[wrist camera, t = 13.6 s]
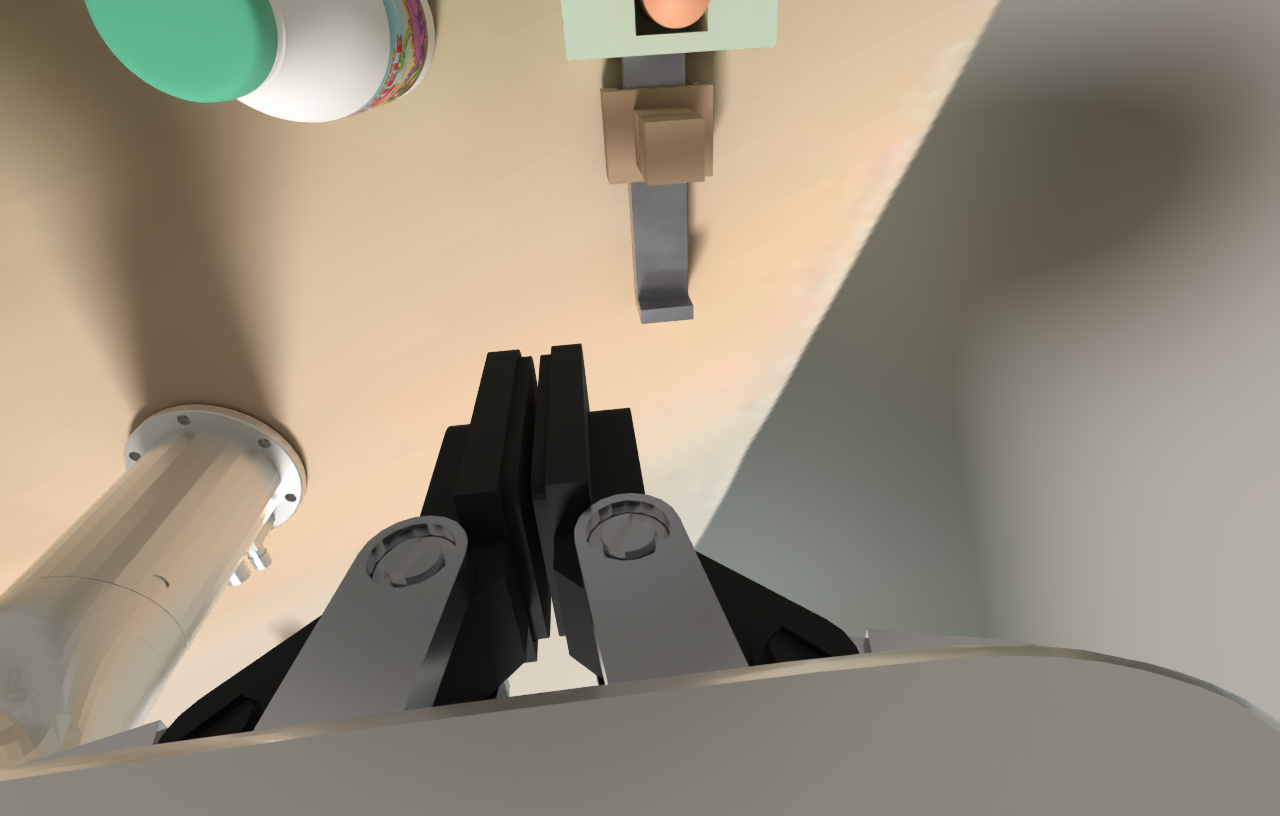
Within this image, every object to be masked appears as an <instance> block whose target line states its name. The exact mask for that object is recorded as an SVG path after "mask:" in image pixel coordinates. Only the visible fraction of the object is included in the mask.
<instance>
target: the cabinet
mask: <svg viewBox="0 0 1280 816" xmlns="http://www.w3.org/2000/svg"><path fill="white" fill-rule="evenodd" d="M561 8H562V17H563V27H564V36H565V46H566V56H567V61H570V60H584V59H599V58H614V57H629V56H643V55H658V54H673V53H687V52H702V51H717V50H732V49H746V48H761V47H776V32H777V15H778V0H710V2H709V5H708V7H707V9H706V10H705V12H704V13H703V15H702V16H701V17H700V18H699V19H698V20H697V21H696V22H694V23H693V24H691V25H689V26H686V27H683V28H667V27H664V26H662V25H660V24H658V23H654V22H650V21H648V20H646V19H645V18H644V17H643V16H642V15H641V14H640V13H639V11H638V9H637V7H636V4H635V0H561Z"/></svg>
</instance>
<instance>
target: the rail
mask: <svg viewBox="0 0 1280 816" xmlns="http://www.w3.org/2000/svg"><path fill="white" fill-rule="evenodd" d="M620 58H621V74H622V90H623V89H637V88H651V87H665V86H679V85H686V84H685V53H673V54H658V55H643V56H629V57H620ZM628 185H629V201H630V217H631V233H632V249H633V265H634V281H635V297H636V305H637V308H638V312H639V316H640V320H641V324H646V323H657V322H667V321H678V320H688V319H693V304H692V302H691V300H690V298H689V295H688V242H687V183H678V184H665V185H653V186H648V185H647V184H646V182H645V181H644V182H632V183H628Z"/></svg>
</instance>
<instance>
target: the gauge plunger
mask: <svg viewBox="0 0 1280 816" xmlns="http://www.w3.org/2000/svg"><path fill="white" fill-rule="evenodd" d="M709 2H710V0H635V4H636V7H637V9H638V11H639V13H640V14H641V15H642V16H643V17H644V18H645V19H646V20H648V21H650V22H654V23H658V24H660V25H662V26H664V27H667V28H683V27H686V26H689V25H691V24H693V23H694V22H696V21H697V20H698V19H699V18H700V17H701V16H702V15H703V13H704V12H705V10H706V9H707V7H708V5H709Z"/></svg>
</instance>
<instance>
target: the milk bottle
mask: <svg viewBox="0 0 1280 816" xmlns="http://www.w3.org/2000/svg"><path fill="white" fill-rule="evenodd" d="M85 3H86V6H87V9H88V12H89V14H90V17H91V19H92V21H93V23H94V25H95V27H96V29H97V31H98V32H99V34H100V36H101V37H102V39H103V40H104V42H105V43H106V44H107V46H108V47H109V49H110V50H111V51H112V52H113V53H114V55H115V56H116V57H117V58H118V59H119V60H120V61H121V62H122V63H123V64H124V65H125V66H126V67H127V68H128V69H129V70H130V71H131V72H133V73H134V74H135V75H136V76H138V77H139V78H140V79H142V80H143V81H145V82H146V83H148V84H149V85H151V86H153V87H155V88H156V89H158V90H160V91H162V92H165V93H167V94H170V95H172V96H175V97H178V98H181V99H184V100H188V101H193V102H202V103H211V102H224V101H229V100H233V99H237V100H239V101H241V102H242V103H244V104H246V105H248V106H250V107H252V108H254V109H256V110H258V111H260V112H263V113H265V114H268V115H271V116H274V117H277V118H281V119H285V120H290V121H297V122H326V121H331V120H336V119H341V118H345V117H349V116H352V115H355V114H358V113H361V112H364V111H367V110H370V109H373V108H375V107H378V106H381V105H383V104H386V103H389V102H391V101H394V100H396V99H398V98H401V97H402V96H404V95H406V94H408V93H409V92H411V91H412V90H413V89H415V88H416V87H417V86H418V85H419V84H420V82H421V81H422V80H423V79H424V77H425V75H426V74H427V72H428V70H429V68H430V65H431V62H432V59H433V55H434V49H435V28H434V21H433V17H432V13H431V9H430V6H429V4H428V1H427V0H85Z"/></svg>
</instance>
